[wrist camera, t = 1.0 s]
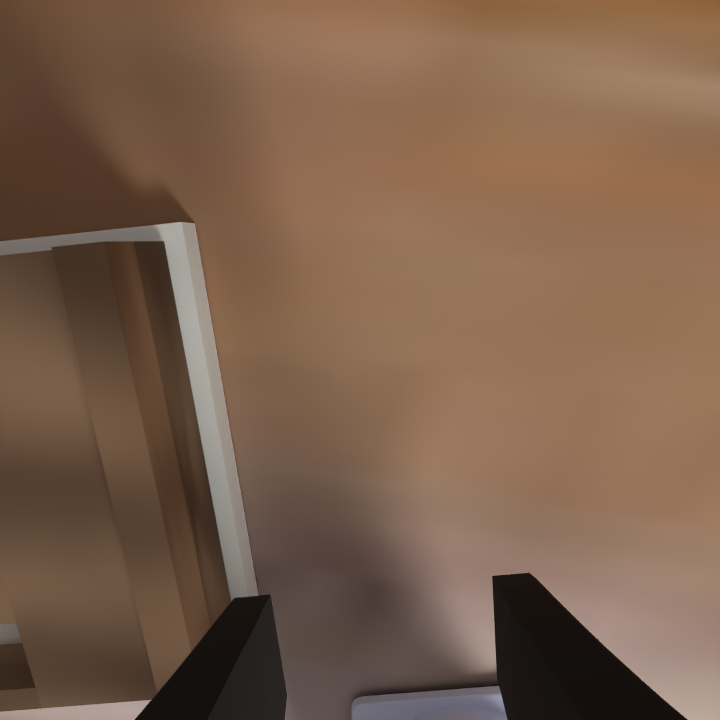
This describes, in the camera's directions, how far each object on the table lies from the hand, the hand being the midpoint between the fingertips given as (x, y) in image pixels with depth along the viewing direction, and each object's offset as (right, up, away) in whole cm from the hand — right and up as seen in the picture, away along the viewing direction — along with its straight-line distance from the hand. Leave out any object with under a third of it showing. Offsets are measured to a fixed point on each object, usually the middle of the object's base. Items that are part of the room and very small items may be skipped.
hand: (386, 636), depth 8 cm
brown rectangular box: (-10, +1, +8) cm, 13 cm away
